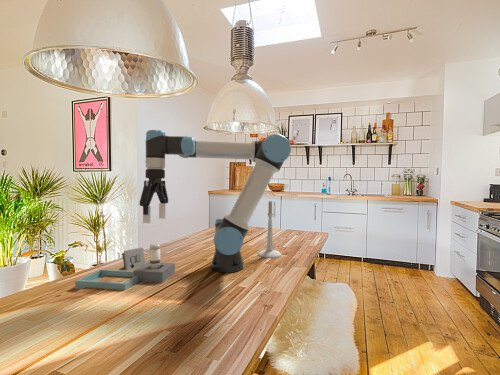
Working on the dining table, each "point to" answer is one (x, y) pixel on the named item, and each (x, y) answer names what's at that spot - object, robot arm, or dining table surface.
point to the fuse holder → (155, 272)
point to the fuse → (155, 256)
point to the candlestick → (269, 239)
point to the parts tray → (93, 282)
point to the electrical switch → (133, 258)
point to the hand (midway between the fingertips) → (154, 220)
